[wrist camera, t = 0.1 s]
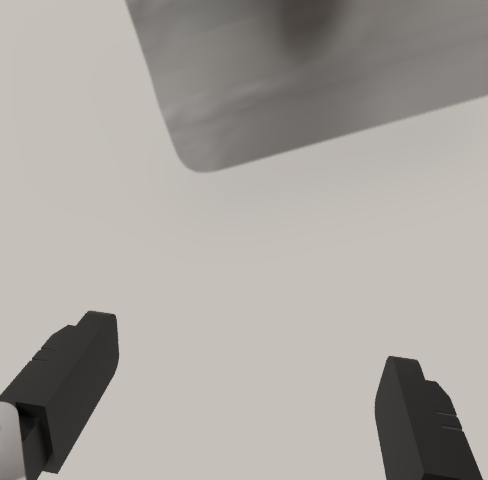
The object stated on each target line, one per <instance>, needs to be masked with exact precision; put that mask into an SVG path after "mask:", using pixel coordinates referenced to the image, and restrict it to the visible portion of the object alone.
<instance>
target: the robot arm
mask: <svg viewBox="0 0 488 480" xmlns="http://www.w3.org/2000/svg"><path fill="white" fill-rule="evenodd" d="M118 360H119V347H118V332H117V319H116V316H115V315H114V314H110V313H103V312H96V311H88V312H87V313H86V314H85V315H84V316H83V318H82V319H81V320H80V321H79V323H78V324H77V325H76V326H72V325H67V326H66V327H64V328H62V329H61V330H59V331H58V332H56V333H54V334H53V335H52V336H51V337H50V338H49V339H48V340H47V341H46V343H45V344H44V345H43V346H42V347H41V350H39V351H38V352H37V353H36V354H35V356H34V357H33V358H32V361H30V362H29V363H28V364H27V365H26V366H25V367H24V368H23V369H22V371H21V372H20V373H19V374H18V375H17V376H16V378H15V379H14V380H13V381H12V382H11V383H10V385H9V386H8V387H7V388H6V389H5V391H4V392H3V393H2V394H1V395H0V480H37V479H38V477H39V475H40V474H41V472H42V471H45V472H50V473H56V474H58V472H59V470H60V469H61V467H62V465H63V463H64V461H65V460H66V458H67V456H68V455H69V453H70V451H71V449H72V447H73V446H74V444H75V442H76V441H77V439H78V437H79V435H80V434H81V431H82V430H83V428H84V427H85V425H86V423H87V421H88V419H89V418H90V416H91V414H92V413H93V411H94V409H95V407H96V406H97V404H98V402H99V400H100V399H101V397H102V395H103V393H104V392H105V390H106V388H107V386H108V385H109V383H110V381H111V379H112V378H113V376H114V374H115V371H116V368H117V365H118ZM456 415H457V414H456V412H455V409H454V407H453V404H452V402H451V399H450V397H449V396H448V395H447V394H446V392H445V391H444V390H443V389H442V388H441V387H440V386H439V384H438V383H437V382H435V381H428V380H425V378H424V375H423V372H422V369H421V366H420V364H419V362H418V361H417V360H414V359H408V358H401V357H394V356H389V357H388V358H387V361H386V364H385V367H384V371H383V374H382V377H381V381H380V384H379V387H378V391H377V395H376V399H375V419H376V425H377V430H378V436H379V441H380V446H381V452H382V457H383V463H384V468H385V474H386V479H387V480H483V479H482V476H481V474H480V471H479V469H478V466H477V464H476V461H475V459H474V456H473V454H472V451H471V449H470V446H469V444H468V441H467V439H466V437H465V434H464V432H462V426H461V424H460V422H459V419H458V418H457V417H456Z"/></svg>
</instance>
